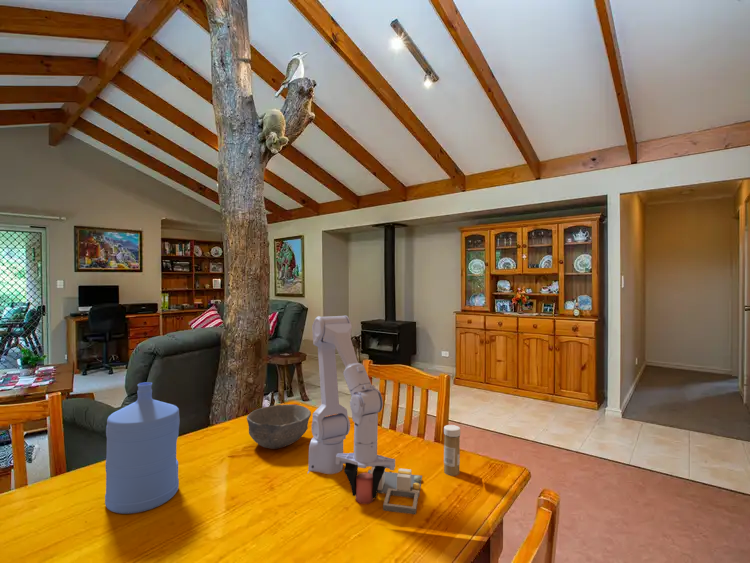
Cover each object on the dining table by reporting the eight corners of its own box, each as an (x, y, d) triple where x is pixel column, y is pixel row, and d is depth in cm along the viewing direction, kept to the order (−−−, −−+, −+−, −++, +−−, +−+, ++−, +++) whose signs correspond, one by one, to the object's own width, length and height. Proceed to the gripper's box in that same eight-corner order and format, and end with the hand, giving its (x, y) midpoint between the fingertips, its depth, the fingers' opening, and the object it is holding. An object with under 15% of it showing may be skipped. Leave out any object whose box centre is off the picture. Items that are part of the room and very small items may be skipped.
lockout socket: (383, 513, 92) (383, 505, 92) (388, 496, 99) (388, 488, 99) (415, 517, 90) (415, 509, 90) (418, 499, 98) (418, 491, 98)
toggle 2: (396, 492, 99) (397, 475, 99) (398, 483, 103) (399, 467, 103) (409, 493, 98) (409, 477, 98) (411, 484, 102) (411, 468, 102)
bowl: (282, 427, 144) (282, 400, 144) (323, 441, 132) (323, 411, 132) (232, 445, 127) (233, 415, 127) (274, 464, 115) (275, 430, 115)
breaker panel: (359, 493, 100) (360, 486, 100) (368, 472, 111) (368, 466, 111) (418, 500, 97) (419, 493, 97) (422, 478, 108) (422, 472, 108)
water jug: (147, 519, 88) (149, 394, 88) (87, 511, 91) (89, 390, 91) (191, 484, 103) (193, 378, 103) (139, 478, 106) (141, 374, 106)
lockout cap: (353, 505, 95) (354, 480, 95) (358, 495, 99) (358, 472, 99) (371, 507, 94) (372, 482, 94) (375, 497, 98) (375, 473, 98)
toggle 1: (369, 489, 100) (369, 473, 100) (372, 480, 104) (373, 465, 104) (381, 490, 99) (382, 474, 99) (384, 481, 104) (384, 466, 104)
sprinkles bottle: (463, 476, 110) (463, 428, 110) (451, 480, 107) (452, 431, 107) (451, 469, 114) (452, 423, 114) (439, 473, 111) (440, 426, 111)
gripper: (332, 443, 94) (331, 500, 94) (392, 449, 91) (391, 507, 91) (340, 432, 101) (339, 485, 101) (396, 437, 98) (395, 491, 98)
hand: (364, 495), depth 96 cm, fingers closed on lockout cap, 4 cm apart
